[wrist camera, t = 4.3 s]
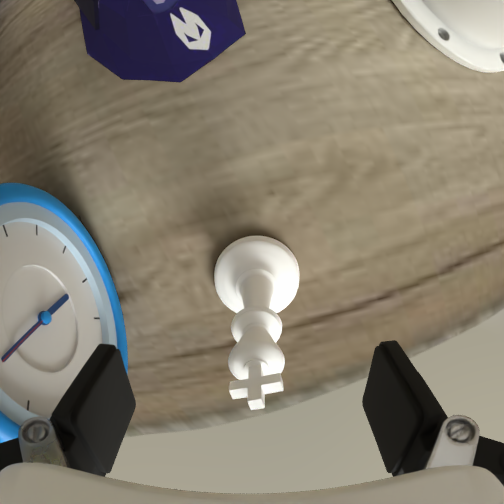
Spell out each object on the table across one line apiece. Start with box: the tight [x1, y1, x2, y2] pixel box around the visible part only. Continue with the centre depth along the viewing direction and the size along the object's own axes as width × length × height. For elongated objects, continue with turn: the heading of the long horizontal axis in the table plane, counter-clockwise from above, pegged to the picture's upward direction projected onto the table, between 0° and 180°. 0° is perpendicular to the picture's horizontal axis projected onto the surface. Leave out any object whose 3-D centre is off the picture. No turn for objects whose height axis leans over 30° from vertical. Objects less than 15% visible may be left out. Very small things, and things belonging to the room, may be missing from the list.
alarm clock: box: [0, 183, 128, 443], centre depth 11 cm, size 13×6×15 cm, turn 17°
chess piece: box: [214, 236, 299, 410], centre depth 13 cm, size 5×5×10 cm
